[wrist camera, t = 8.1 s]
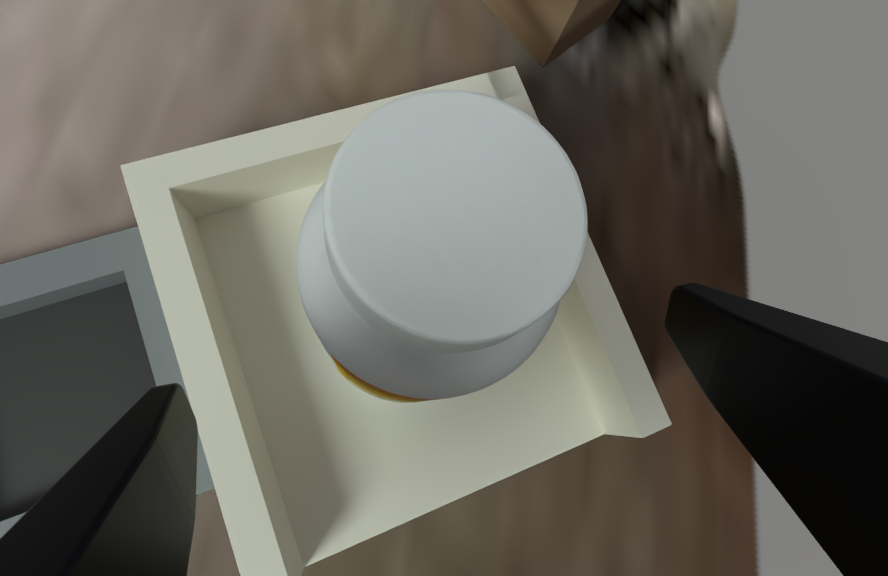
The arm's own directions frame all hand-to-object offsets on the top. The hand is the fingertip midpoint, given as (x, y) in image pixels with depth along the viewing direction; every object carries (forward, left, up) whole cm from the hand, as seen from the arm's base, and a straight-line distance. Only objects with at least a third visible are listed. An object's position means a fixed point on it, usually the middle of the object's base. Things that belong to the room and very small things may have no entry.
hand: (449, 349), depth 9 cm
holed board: (+3, +10, -8) cm, 13 cm away
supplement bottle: (+2, 0, -8) cm, 8 cm away
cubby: (+2, 0, -8) cm, 8 cm away
